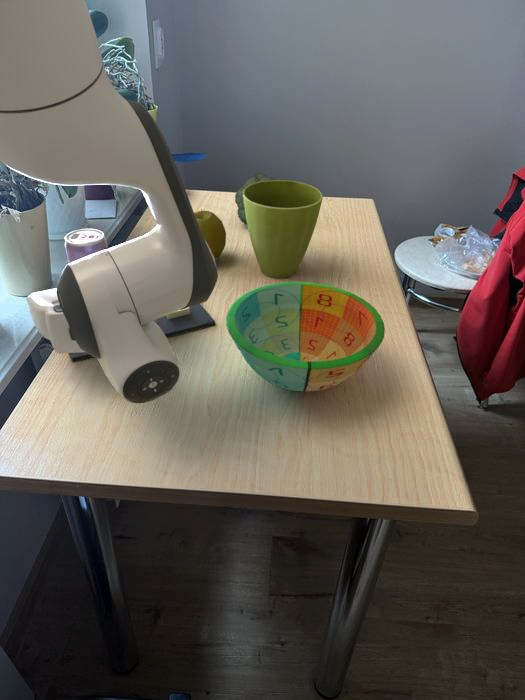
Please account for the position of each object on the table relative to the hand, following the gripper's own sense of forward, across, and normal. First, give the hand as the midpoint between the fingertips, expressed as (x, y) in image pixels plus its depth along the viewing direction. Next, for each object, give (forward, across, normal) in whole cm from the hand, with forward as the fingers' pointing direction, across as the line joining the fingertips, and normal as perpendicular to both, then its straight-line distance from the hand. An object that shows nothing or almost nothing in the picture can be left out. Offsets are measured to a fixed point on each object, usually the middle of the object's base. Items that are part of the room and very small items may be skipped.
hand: (90, 276), depth 83 cm
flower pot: (+6, -38, +10) cm, 40 cm away
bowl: (-25, -24, +11) cm, 36 cm away
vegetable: (+30, -46, +10) cm, 56 cm away
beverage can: (-1, 0, +8) cm, 8 cm away
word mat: (-1, -6, +10) cm, 12 cm away
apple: (+17, -26, +10) cm, 33 cm away
